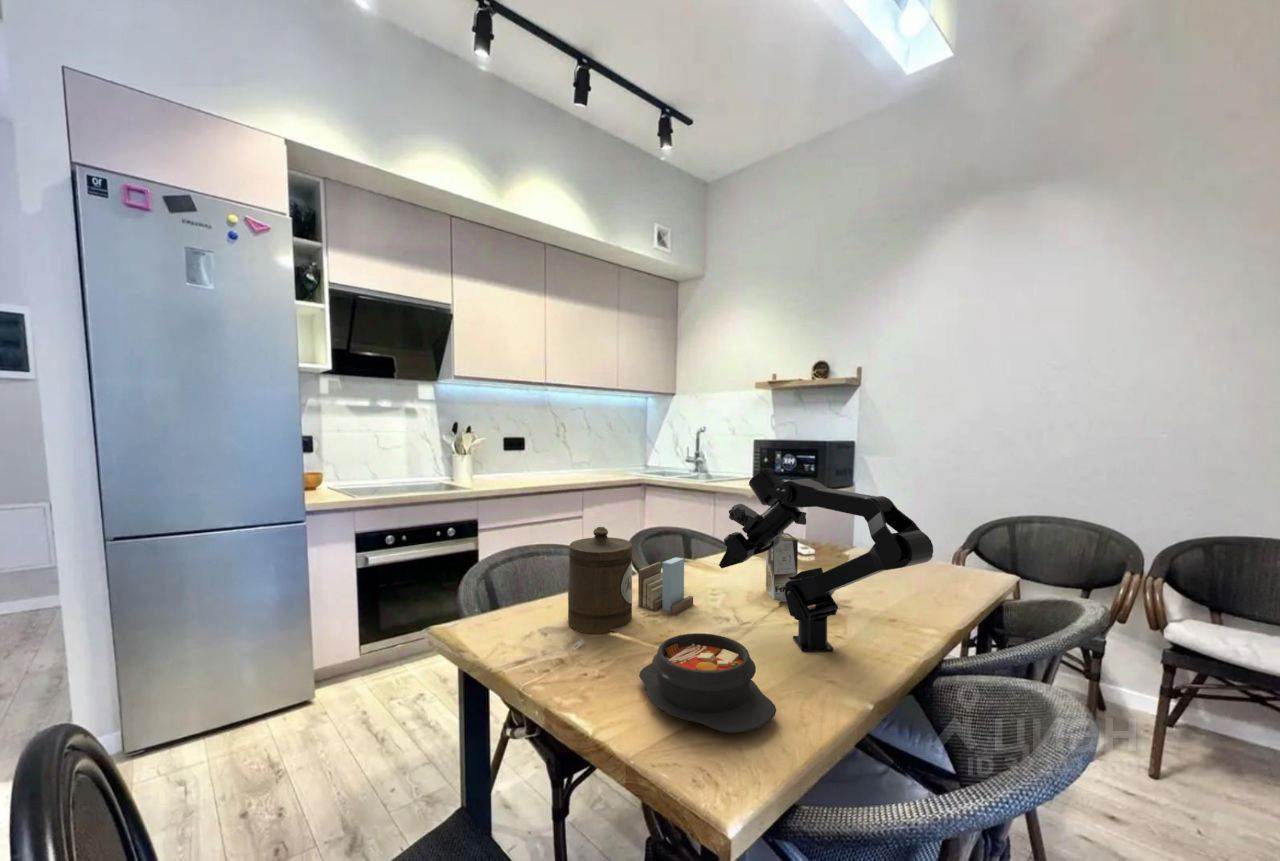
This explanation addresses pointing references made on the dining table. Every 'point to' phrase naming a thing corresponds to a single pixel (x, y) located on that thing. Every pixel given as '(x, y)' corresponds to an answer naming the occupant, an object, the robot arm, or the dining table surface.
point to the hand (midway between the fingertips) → (729, 562)
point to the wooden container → (600, 583)
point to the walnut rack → (657, 591)
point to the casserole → (707, 683)
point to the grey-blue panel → (672, 582)
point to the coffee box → (781, 566)
